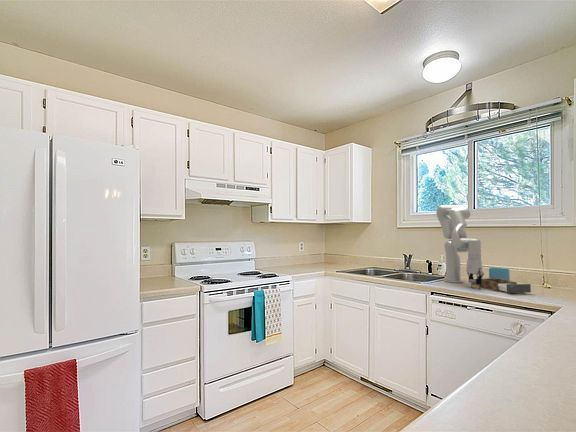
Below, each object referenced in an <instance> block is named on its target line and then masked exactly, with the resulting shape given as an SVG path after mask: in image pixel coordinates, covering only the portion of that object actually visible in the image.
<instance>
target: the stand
mask: <svg viewBox="0 0 576 432" xmlns="http://www.w3.org/2000/svg"><path fill="white" fill-rule="evenodd" d="M470 288H471V289H476V288H478V289H480V286H479V284H476V283H470Z"/></svg>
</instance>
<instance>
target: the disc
mask: <svg viewBox="0 0 576 432" xmlns="http://www.w3.org/2000/svg"><path fill="white" fill-rule="evenodd" d="M468 283H470V284H471V283H476V278H473V279H469V278H468Z"/></svg>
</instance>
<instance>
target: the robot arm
mask: <svg viewBox="0 0 576 432" xmlns="http://www.w3.org/2000/svg"><path fill="white" fill-rule="evenodd" d="M435 213H436V217H437V220H438V222H439V223H440V228H441V230H442V234H443V237H444V238H445V239H447V240H446V241H445V242H444V247H443V248H444V251H445V265H446V267H445V271H446V274H445V275H444V277H445V278H444V280H443V281H444V282H447V283H454V284H455V283H457V284H458V283H463V282H464V280H463V279H461V257H460V255H459V254H458V253H467V256H468V257H467V260H466V270H465V271H466V274H467V277H468V280H469V279H474V275H476V278H475V279H476V284H481V279H483V277H484V275H485V273H484V271H483V262H482V242H481V239H479V238H473V237H472V238H471V237H470V238H469V237H468V235H467V233H466V230H465V229H466V228H467V226H468V223H467V222H466V219H467V220H468V219H469V218H470V216H471V211H470V210H469V208H468V207H465V206H463V205H459V204H441V205H438V206H437V208H436V212H435Z"/></svg>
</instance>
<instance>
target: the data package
mask: <svg viewBox="0 0 576 432" xmlns="http://www.w3.org/2000/svg"><path fill="white" fill-rule="evenodd" d="M510 277H511V276H510V269H509V268H507V267H500V266H499V267H497V266H495V267H494V266H491V267H489V269H488V279H493V278H498V279H503V280H508V281H511V279H510Z"/></svg>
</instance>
